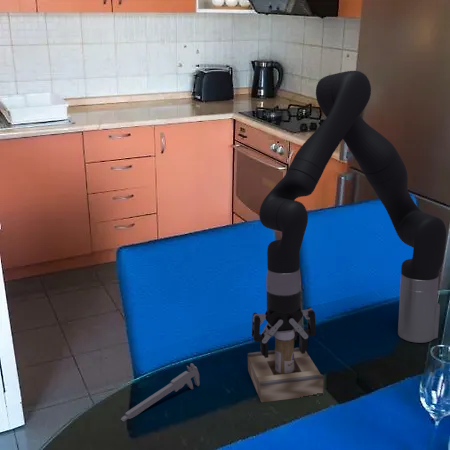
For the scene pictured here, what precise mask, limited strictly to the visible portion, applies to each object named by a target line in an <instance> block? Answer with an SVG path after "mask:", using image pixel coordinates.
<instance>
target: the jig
mask: <svg viewBox="0 0 450 450" xmlns="http://www.w3.org/2000/svg"><path fill="white" fill-rule="evenodd" d="M247 372H248V374H249V376H250V378H251V381H252V384H253V386H254V388H255V391H256V393H257V396H258V399H259V400H260V402H261V403H267V402H276V401H285V400H292V399H300V397H301V398H304V397H303V396H308V395H313V394H317V393H323V394H324V374H321V372H320V371H319V369H318V367H317V365H315V363H314V362H313V360H312V358H311V357H310V355H309V353H308V352H307V351H305V353H304V354H302V353H301V352H300V349H299V346H298V347H294V373H289V374H280V375H276V370H275V349H273V350H268V358H265V357H264V356H263V355H262V353H261V351H255V352H248V353H247Z"/></svg>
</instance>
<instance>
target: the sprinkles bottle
mask: <svg viewBox="0 0 450 450" xmlns="http://www.w3.org/2000/svg"><path fill="white" fill-rule="evenodd" d="M295 332H296V329H295V328H294V329H292V330H288V331H279V332H278V331H276V332H275V334H274V335H273V337H274V346H275V347H274V350H275V370H276V375H280V374H289V373H294V348H295V336H296V335H295Z"/></svg>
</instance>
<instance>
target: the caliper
mask: <svg viewBox="0 0 450 450" xmlns="http://www.w3.org/2000/svg"><path fill="white" fill-rule="evenodd" d="M189 365H190V366H188V365H186V368H187V370H185V371H183V372H182V373H180V374H179V375H177V376H176V377H174V378H172V380H170V382H169V383H168V384H167V385H165V386H164V387H162V388H161V389H158V391H156V392H154V393H153V394H151V395H150V396H148V397H147V398H146V399H144V400H142V401H141V402H140V403H138V404H137V405H135V406H133V407H132V408H130V409H129V410H128V411H126V412H125V415H123V416H122V417H121V418H120V421H121V422H124V423H125V422H126V421H127V420H130V419H133V418H134V417H136V416H138V415H139V414H141V413H142V412H144V411H145V410H147V409H148V408H149V407H151V406H152V405H154V404H155V403H157V402H158V401H160V400H161V399H163V398H165V396H167V395H169V394H170V393H171V392H173V391H174V392H175V393H176V392H178V391H179V390H180V389H182V388H183V387H184V386H185V385H186V386H187V387H188V388H189V389H191V390H193V389H194V385H195V386H197V387H199V386H200V385H201V383H200V373H199V370H198V367H197V366H195V364H194V363H192V362H190V364H189ZM192 378H193V381H194V385H193V382H192Z"/></svg>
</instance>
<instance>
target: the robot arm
mask: <svg viewBox="0 0 450 450" xmlns="http://www.w3.org/2000/svg"><path fill="white" fill-rule="evenodd" d="M370 82H371V81H370V80H369V78H368V77H367V74H365V73H364V72H362V71H359V70H347V71H341V72H337V73H333V74H329V75H326V76H323V77H322V78H321V79H319V81H318V82H317V83H316V87H315V88H316V89H315V97H316V101H317V104H318V106H319V108H320V110H321V112H322V113H323V114H324V116H325V117H326V118H325V119H324V120H323V121H322V123H321V124H320V125H319V127H318V128H317V129H316V130H315V131H314V132H313V133H312V134H311V135H310V136H309V137H308V139H306V140H305V141H304V143H303V144H302V145H301V146H300V148H299V149H298V150H297V152H296V153H295V155H294V157H293V159H292V161H291V163H290V165H289V167H288V168H287V171H286V173H285V175H284V176H283V177H282V179H280V181H278V182H277V184H276V185H274V187H273V188H272V189H271V190H270V191H269V193H268V194H267V195H266V197H265V198H264V199H263V200H262V203H261V204H260V208H259V213H258V216H259V220H260V221H259V222H260V224H262V226H263V227H265V228H267V229H270V230H273V231H279V232H282V233H281V234H282V236H281V239H276V240H275V239H274V240H272V241H270V243H269V244H268V245H267V252H266V256H267V258H266V259H267V260H266V261H267V271H266V276H265V277H266V284H265V285H266V312H264V313H260V314H259V313H257V312H253V313H252V318H251V319H252V320H251V337H252V339H253V341H254V342H255V343H257V342H260V343H259V344H260V347H259V348H260V350H259V352H261V353H262V355H263V356H264V357H265V358H268V351H269V343H268V342H269V340H270V339H271V338H272V337H274V334H275V332H276V331H278V332H279V331H288V330H292V329H294V330H295V331H297V333H298V334H299V336H298V337H299V341H298V343H299V346H298V347H299V349H300V352H301V353H302V354H304V353H305V351H306V352H307V350H308V347H309V346H308V343H309V342H308V341H309V340H308V339H309V337H313V336H316V335H317V327H316V326H317V325H316V323H317V322H316V312H315V311H314V310H313V308H312V307H311V306H308V307H307V308H306V309H301V307H302V278H301V276H302V275H301V268H300V267H301V266H300V265H301V261H300V260H301V259H300V258H301V257H300V256H301V255H300V252H301V248H302V243H303V241H304V238H305V237H304V236H305V232H306V230H307V227H308V226H307V225H308V221H309V213H308V210H307V208H306V207H305V205H304V203H302V202H300V201H298V200H297V199H298V198H301V197H308V196H311V195H312V194H313V193H314V191H315V189H316V187H317V185H318V184H319V181H320V179H321V177H322V175H323V173H324V171H325V169H326V167H327V165H328V164H329V161H330V160H331V158H332V157H333V154H334V153H335V152H336V150H337V148H338V147H339V145H340V144H341V143H342V141H344V142H345V145H346V146H347V147H348V149H349V151H350V152H351V154H352V155H353V157H354V159H355V160H356V162H357V164H358V165H359V168H360V169H361V171H362V173H363V175H364V177H365V179H366V180H367V181H368V183H369V185H370V186H371V188H372V189H373V190H374V192H375V194H376V196H377V197H378V199H379V201H380V202H381V204H382V206H384V208H385V210H386V212H387V215H388V217H389V218H390V221H391V223H392V225H393V227H394V230H395V233H396V235H397V237H398V238H399V239H400V240H401V242H403V244H405V245H407V246H409V247H412V248H413V249H412V258H408V259H405V260H404V261H403V262H402V263H401V265H400V267H401V268H400V285H399V286H400V287H399V303H398V305H399V307H398V324H397V335H398V336H399V338H400V339H402V340H405V341H407V342H412V343H419V344H420V343H421V344H423V343H428V342H429V343H430V342H431V341H433V340H435V339H438V338H439V326H440V325H439V324H440V311H441V310H440V309H441V305H440V304H441V303H439V302H438V291H439V280H440V279H439V276H440V270H441V268H442V267H443V263H444V257H445V250H446V242H447V228H446V224H445V222H444V221H443V219H441V218H439V217H438V216H435V215H432V214H429V213H428V212H427V213H426V212H424V211H422V210H421V209H420V208H419V207H418V206H417V204H416V203H415V201H414V199H413V197H411V195H410V192H409V187H408V182H409V181H408V177H409V176H408V170H407V167H406V165H405V163H404V161H403V159H402V158H401V155H400V153H398V151H397V149H396V147H395V145H394V144H393V143H392V142H390V140H388V138H386V137H385V136H384V135H382V134H381V133H380V132H378V131H377V130H376V129H375V128H373V127H372V126H371V125H370V124H368V123H367V121H365V120H364V119H363V118H362V116H361V114H362V112H363V111H365V109H366V107H367V105H368V103H369V101H370V99H371V93H372V87H371V83H370ZM303 317H304V318H305V320H307V321H306V322H307V323H306V324H307V325H306V326H307V328H306V329H304V328H303V326H301V324H300V321H301V320H302V318H303ZM264 321H266V322H267V323H266V325H265V326H264V329H263V330H262V332H261V333H260V331H261V325H262V324H263V323H264Z"/></svg>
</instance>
